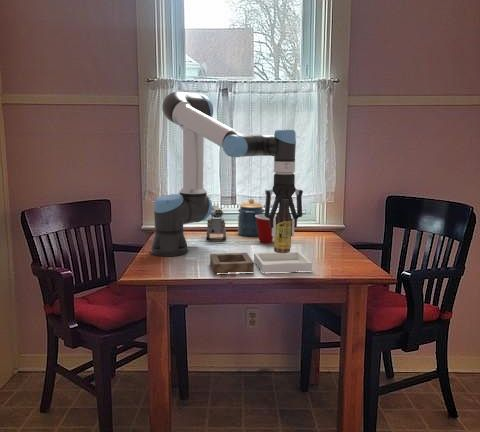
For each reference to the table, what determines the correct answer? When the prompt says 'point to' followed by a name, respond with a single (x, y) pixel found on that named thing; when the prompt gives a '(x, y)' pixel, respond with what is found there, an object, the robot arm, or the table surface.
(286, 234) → the sauce bottle
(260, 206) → the canister
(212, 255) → the walnut holder
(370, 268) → the table surface
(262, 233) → the plastic cup
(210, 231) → the figurine
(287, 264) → the plastic tray
